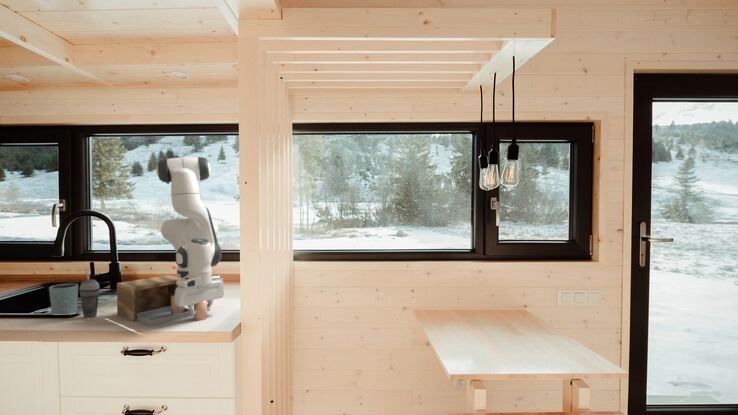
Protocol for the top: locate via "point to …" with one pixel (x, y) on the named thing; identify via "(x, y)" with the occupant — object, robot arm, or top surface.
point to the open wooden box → (144, 295)
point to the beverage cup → (89, 297)
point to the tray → (160, 315)
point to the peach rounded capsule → (200, 310)
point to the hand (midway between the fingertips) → (200, 312)
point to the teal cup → (64, 298)
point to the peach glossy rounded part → (175, 307)
